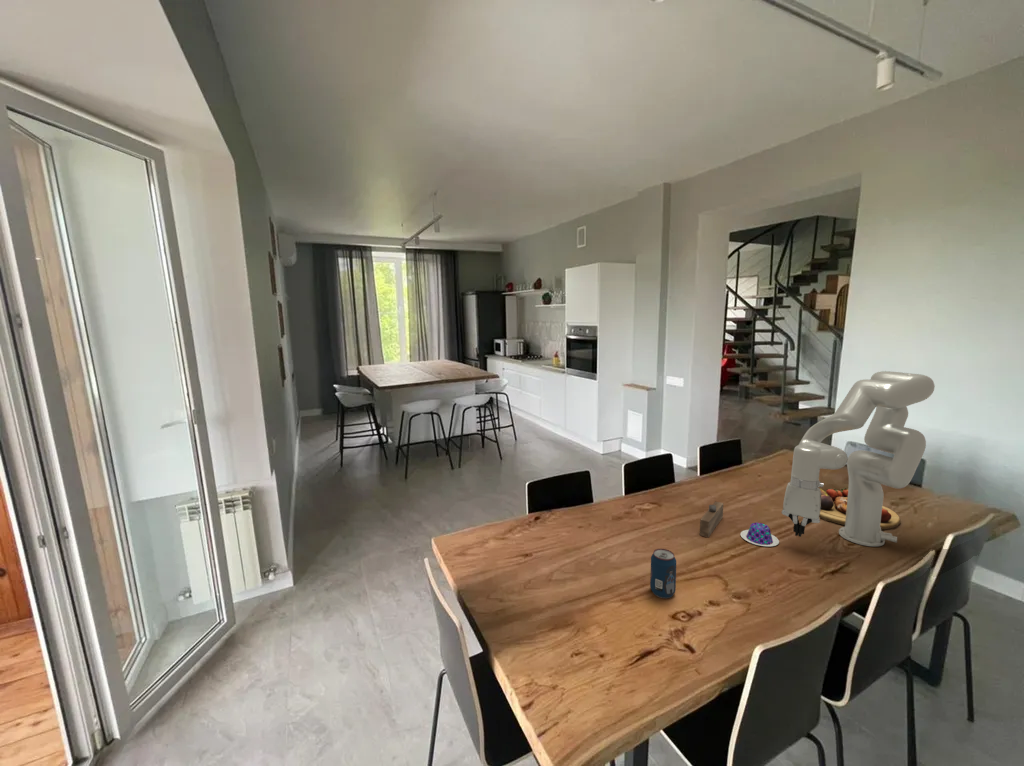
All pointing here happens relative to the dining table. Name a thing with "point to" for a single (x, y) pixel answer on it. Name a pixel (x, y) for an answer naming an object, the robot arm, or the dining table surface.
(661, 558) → the soda can
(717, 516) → the rail
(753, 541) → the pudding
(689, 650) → the dining table surface
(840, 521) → the wooden plate with food
